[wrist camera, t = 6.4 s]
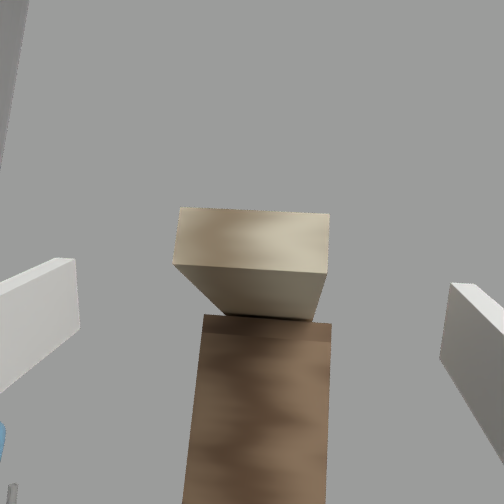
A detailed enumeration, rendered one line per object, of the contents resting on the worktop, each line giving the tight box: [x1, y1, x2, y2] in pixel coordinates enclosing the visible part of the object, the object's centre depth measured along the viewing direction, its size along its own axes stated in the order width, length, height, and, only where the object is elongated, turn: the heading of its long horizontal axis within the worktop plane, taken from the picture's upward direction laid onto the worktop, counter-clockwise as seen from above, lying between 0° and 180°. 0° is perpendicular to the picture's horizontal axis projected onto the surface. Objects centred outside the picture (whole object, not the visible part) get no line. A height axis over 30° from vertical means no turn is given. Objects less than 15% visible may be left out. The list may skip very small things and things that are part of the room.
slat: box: [172, 207, 330, 322], centre depth 24 cm, size 5×21×2 cm, turn 175°
